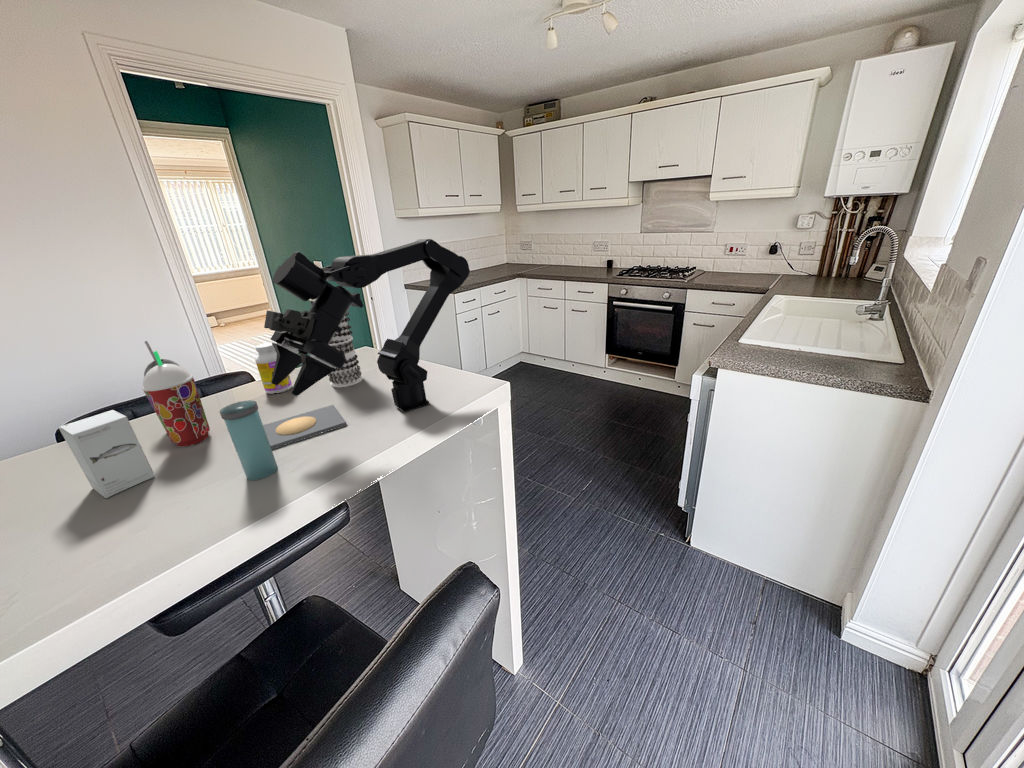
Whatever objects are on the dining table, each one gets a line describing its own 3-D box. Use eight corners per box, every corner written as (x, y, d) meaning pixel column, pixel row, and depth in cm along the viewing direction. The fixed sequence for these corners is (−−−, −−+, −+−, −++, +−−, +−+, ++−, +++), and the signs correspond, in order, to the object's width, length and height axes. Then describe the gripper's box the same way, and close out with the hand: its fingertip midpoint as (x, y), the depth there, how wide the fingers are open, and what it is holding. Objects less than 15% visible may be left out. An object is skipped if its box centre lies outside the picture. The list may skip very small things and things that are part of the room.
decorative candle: (347, 389, 109) (323, 294, 99) (321, 386, 112) (296, 294, 103) (371, 376, 116) (350, 287, 107) (346, 374, 120) (324, 287, 110)
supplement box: (105, 500, 70) (69, 435, 65) (91, 488, 74) (56, 426, 69) (157, 476, 76) (127, 415, 71) (141, 466, 79) (112, 408, 75)
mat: (334, 407, 98) (333, 403, 98) (346, 425, 89) (345, 421, 89) (248, 433, 89) (246, 428, 89) (252, 455, 80) (250, 451, 80)
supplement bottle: (276, 396, 108) (261, 349, 103) (260, 393, 111) (244, 347, 106) (298, 386, 114) (284, 341, 109) (282, 383, 117) (268, 340, 112)
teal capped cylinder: (276, 460, 78) (255, 397, 73) (280, 472, 74) (257, 407, 69) (244, 471, 75) (219, 406, 70) (246, 484, 71) (219, 417, 66)
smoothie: (224, 433, 90) (190, 346, 82) (183, 453, 83) (141, 360, 75) (202, 428, 93) (166, 344, 86) (160, 446, 86) (118, 357, 79)
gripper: (266, 287, 77) (221, 361, 74) (309, 293, 65) (257, 381, 62) (318, 318, 86) (279, 385, 83) (365, 329, 74) (321, 407, 71)
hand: (283, 389), depth 74 cm, fingers open, 9 cm apart
